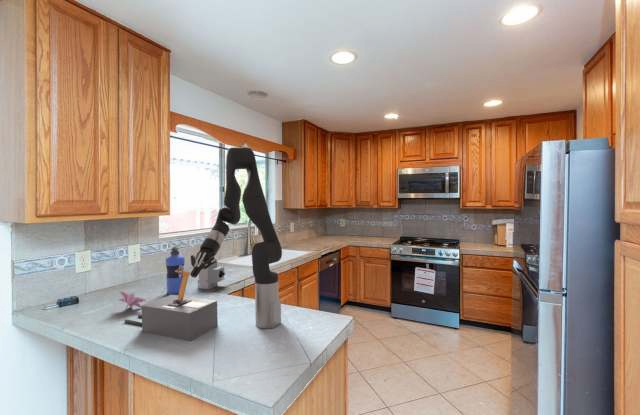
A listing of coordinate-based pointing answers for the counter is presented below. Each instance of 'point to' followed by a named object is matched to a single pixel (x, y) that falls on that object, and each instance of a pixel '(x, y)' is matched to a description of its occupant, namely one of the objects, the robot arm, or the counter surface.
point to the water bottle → (174, 271)
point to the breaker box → (178, 317)
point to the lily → (131, 300)
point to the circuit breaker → (210, 276)
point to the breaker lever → (183, 286)
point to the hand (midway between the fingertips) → (192, 276)
